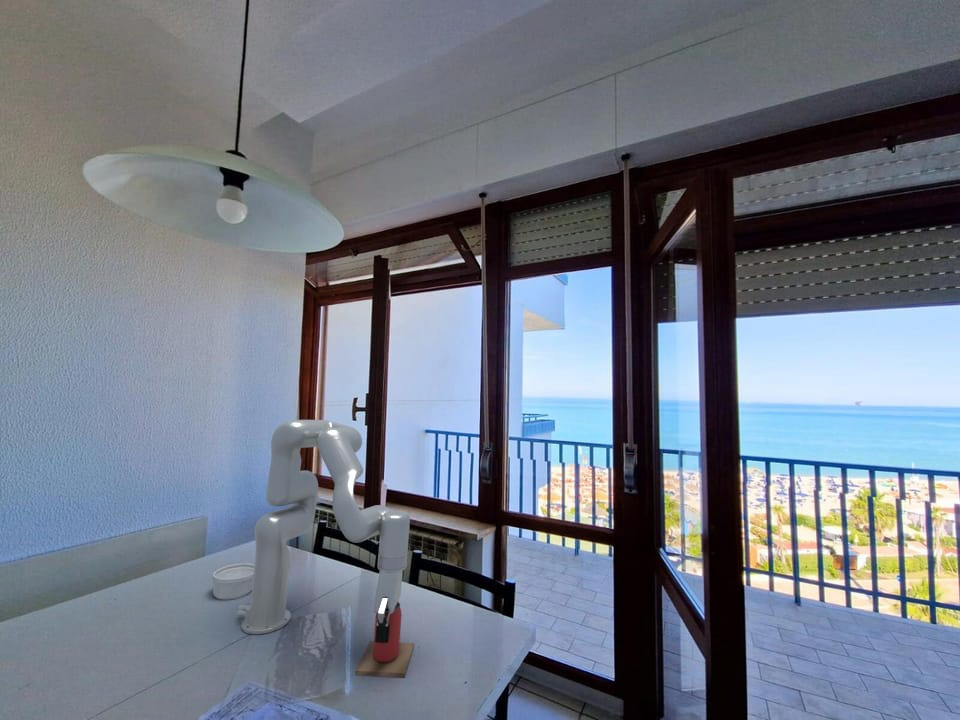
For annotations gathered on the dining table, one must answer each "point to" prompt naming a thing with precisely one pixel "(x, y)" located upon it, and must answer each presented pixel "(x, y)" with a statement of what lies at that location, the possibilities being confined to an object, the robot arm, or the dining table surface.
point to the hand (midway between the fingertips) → (386, 630)
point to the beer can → (390, 649)
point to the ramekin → (233, 581)
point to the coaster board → (387, 669)
